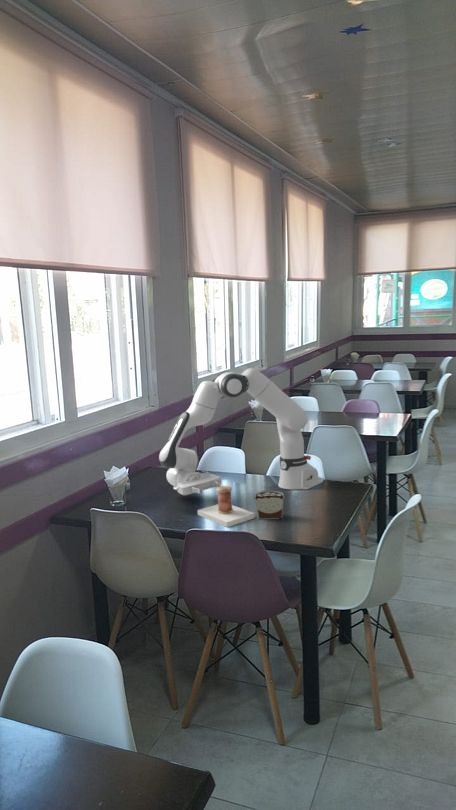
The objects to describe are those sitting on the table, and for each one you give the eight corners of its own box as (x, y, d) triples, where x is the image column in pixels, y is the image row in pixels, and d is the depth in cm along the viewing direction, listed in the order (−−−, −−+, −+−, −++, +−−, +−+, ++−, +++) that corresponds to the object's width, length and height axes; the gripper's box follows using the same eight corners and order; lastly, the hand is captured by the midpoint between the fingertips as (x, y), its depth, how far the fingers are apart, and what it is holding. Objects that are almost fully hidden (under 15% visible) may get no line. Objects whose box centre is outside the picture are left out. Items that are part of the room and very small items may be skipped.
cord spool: (226, 508, 236) (225, 484, 235) (236, 511, 231) (234, 487, 230) (214, 511, 232) (213, 488, 231) (223, 515, 228) (222, 491, 226)
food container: (286, 513, 232) (285, 489, 230) (286, 518, 226) (285, 494, 224) (255, 513, 233) (254, 490, 232) (255, 519, 227) (253, 495, 226)
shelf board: (224, 506, 244) (224, 502, 244) (254, 518, 228) (254, 513, 228) (197, 514, 236) (197, 510, 236) (226, 527, 220) (226, 522, 220)
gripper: (170, 480, 243) (188, 486, 232) (209, 470, 255) (228, 476, 244) (171, 494, 244) (189, 501, 233) (210, 484, 256) (229, 490, 245)
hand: (209, 488), depth 238 cm, fingers open, 8 cm apart
